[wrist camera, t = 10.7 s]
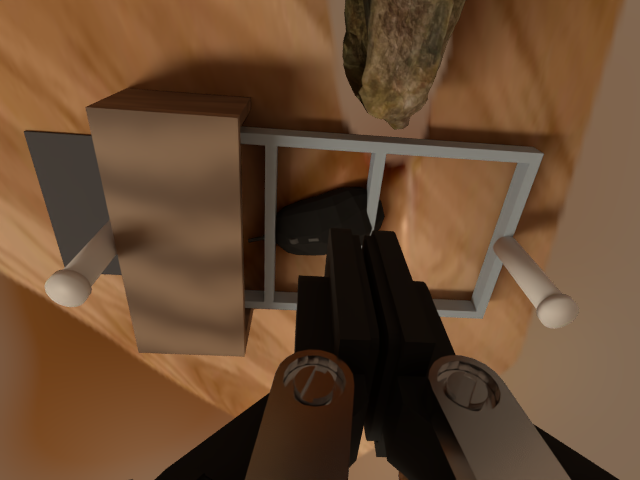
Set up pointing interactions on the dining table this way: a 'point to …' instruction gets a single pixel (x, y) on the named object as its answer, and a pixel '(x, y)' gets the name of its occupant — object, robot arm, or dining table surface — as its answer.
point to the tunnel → (176, 215)
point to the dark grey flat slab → (71, 190)
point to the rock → (396, 52)
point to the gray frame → (503, 249)
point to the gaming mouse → (323, 220)
